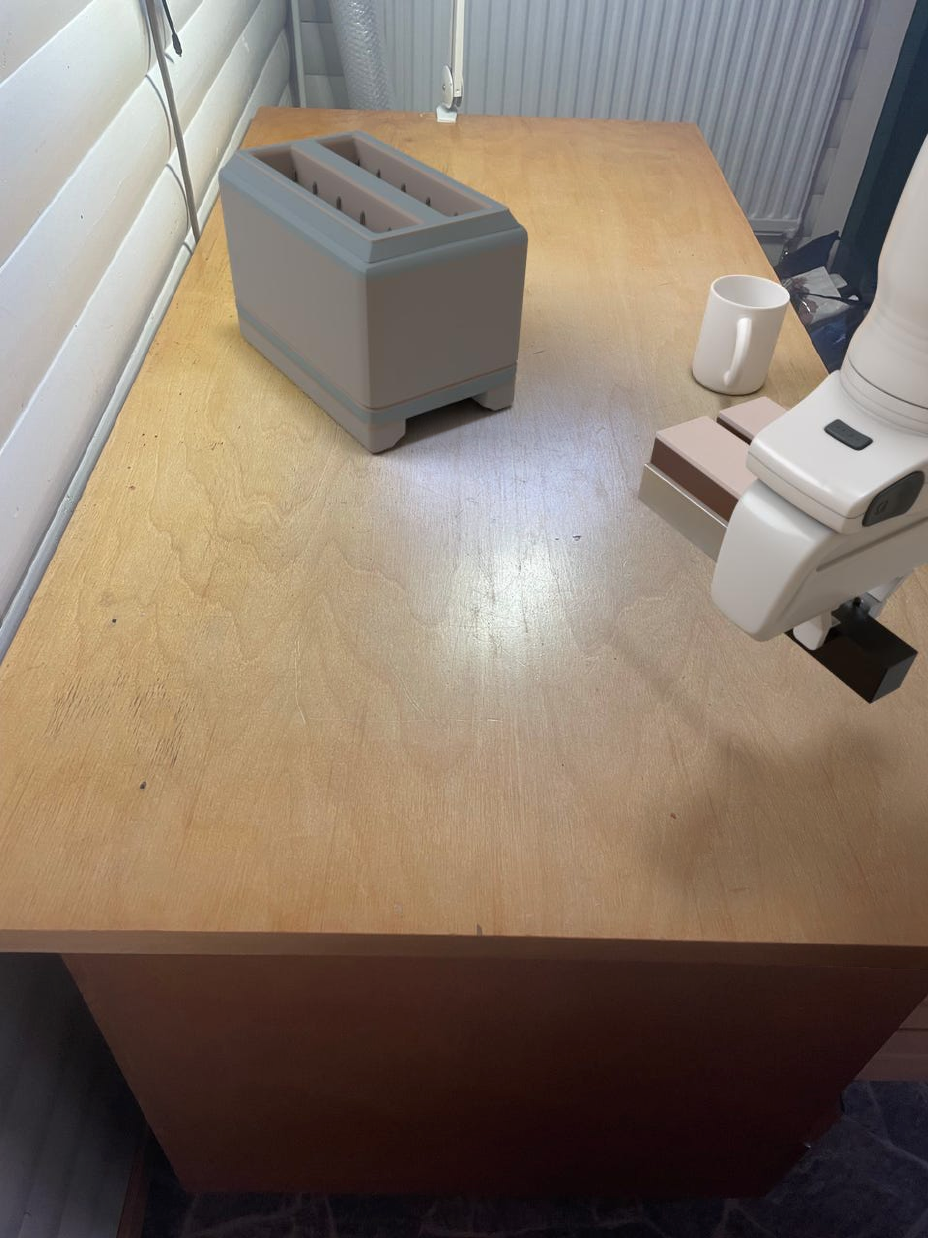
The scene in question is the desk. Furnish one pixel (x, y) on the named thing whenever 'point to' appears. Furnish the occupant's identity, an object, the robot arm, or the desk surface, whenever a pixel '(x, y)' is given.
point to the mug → (739, 333)
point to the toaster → (373, 280)
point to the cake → (714, 452)
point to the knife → (853, 655)
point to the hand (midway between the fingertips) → (834, 627)
